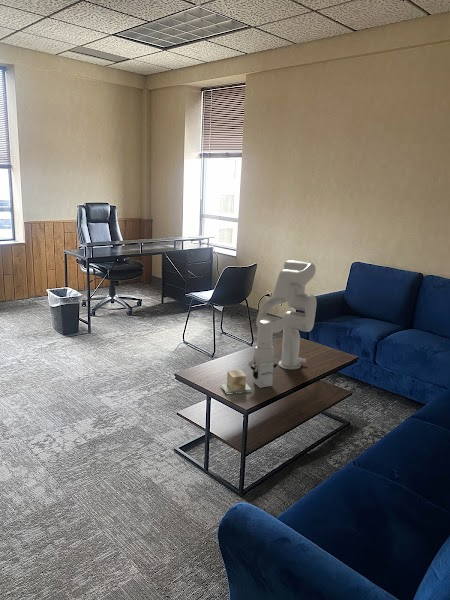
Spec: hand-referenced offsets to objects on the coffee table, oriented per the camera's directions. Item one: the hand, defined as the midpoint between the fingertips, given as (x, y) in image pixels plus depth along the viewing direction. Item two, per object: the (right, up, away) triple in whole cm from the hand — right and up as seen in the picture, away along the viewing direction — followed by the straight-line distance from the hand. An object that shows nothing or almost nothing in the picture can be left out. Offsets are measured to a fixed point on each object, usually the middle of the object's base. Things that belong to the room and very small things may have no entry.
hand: (263, 377), depth 238 cm
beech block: (-14, -4, -6) cm, 16 cm away
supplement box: (0, -4, +1) cm, 4 cm away
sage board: (-14, -5, -6) cm, 16 cm away
